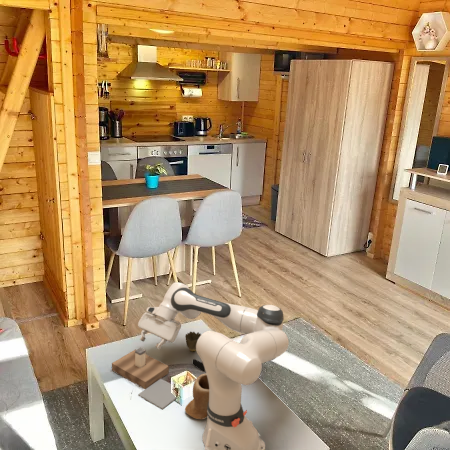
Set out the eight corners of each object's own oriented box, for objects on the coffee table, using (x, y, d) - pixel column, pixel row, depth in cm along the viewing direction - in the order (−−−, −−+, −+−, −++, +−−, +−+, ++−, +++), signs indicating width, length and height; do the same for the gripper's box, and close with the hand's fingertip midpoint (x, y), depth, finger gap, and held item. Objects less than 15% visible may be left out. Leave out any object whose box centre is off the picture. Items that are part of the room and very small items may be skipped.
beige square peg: (145, 371, 197) (145, 350, 194) (140, 374, 195) (140, 353, 192) (140, 368, 199) (140, 347, 196) (135, 372, 197) (135, 350, 193)
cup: (182, 353, 212) (182, 337, 210) (188, 344, 219) (188, 330, 216) (197, 356, 210) (198, 341, 208) (203, 348, 217) (203, 333, 214)
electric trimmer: (195, 362, 206) (196, 356, 205) (223, 376, 198) (224, 369, 197) (190, 366, 203) (190, 360, 202) (218, 380, 195) (218, 374, 194)
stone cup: (205, 427, 168) (207, 392, 163) (180, 413, 174) (181, 379, 169) (228, 405, 180) (231, 372, 175) (204, 393, 186) (206, 361, 181)
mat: (184, 392, 185) (184, 391, 185) (162, 409, 175) (162, 408, 175) (160, 379, 192) (160, 378, 192) (138, 395, 182) (138, 394, 182)
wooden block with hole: (168, 373, 197) (168, 366, 196) (145, 389, 186) (145, 382, 185) (135, 355, 208) (135, 349, 207) (111, 370, 197) (111, 363, 196)
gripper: (186, 325, 200) (170, 355, 196) (152, 311, 211) (136, 338, 207) (179, 320, 195) (163, 350, 191) (144, 306, 207) (129, 334, 202)
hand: (149, 344), depth 199 cm, fingers open, 8 cm apart
